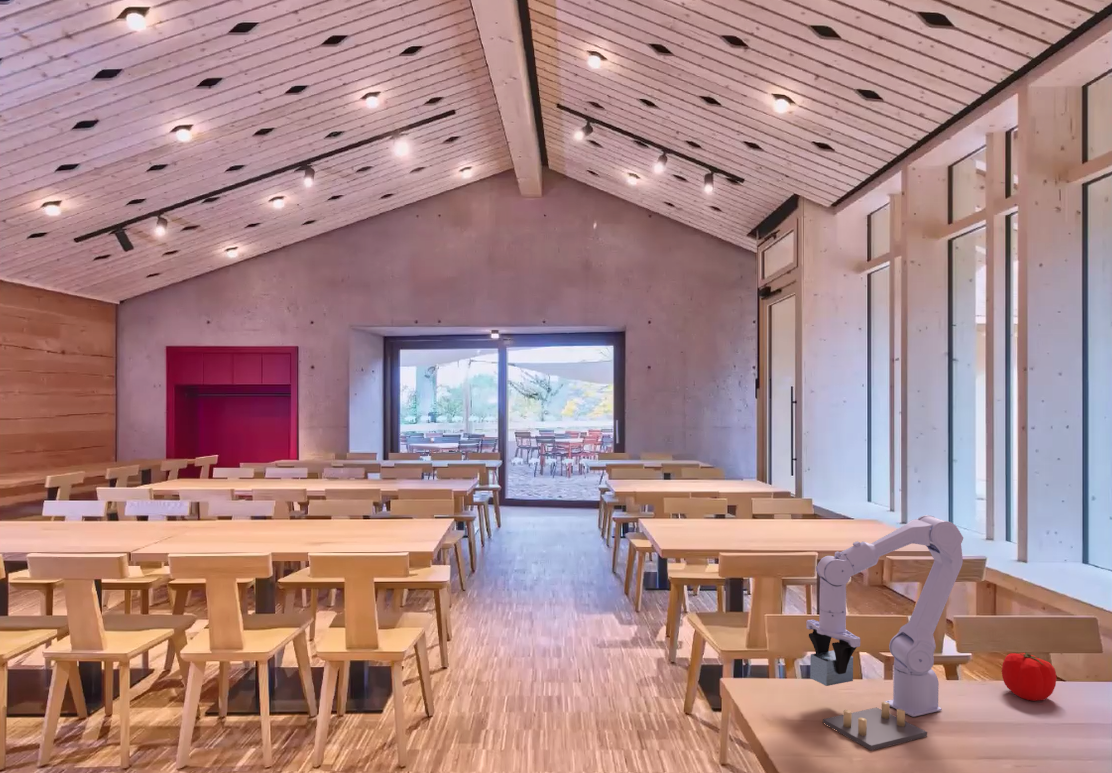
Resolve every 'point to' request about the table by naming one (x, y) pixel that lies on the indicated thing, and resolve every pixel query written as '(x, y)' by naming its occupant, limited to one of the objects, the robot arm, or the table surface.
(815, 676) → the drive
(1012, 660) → the tomato
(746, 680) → the table surface
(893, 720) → the grey pegged base plate
